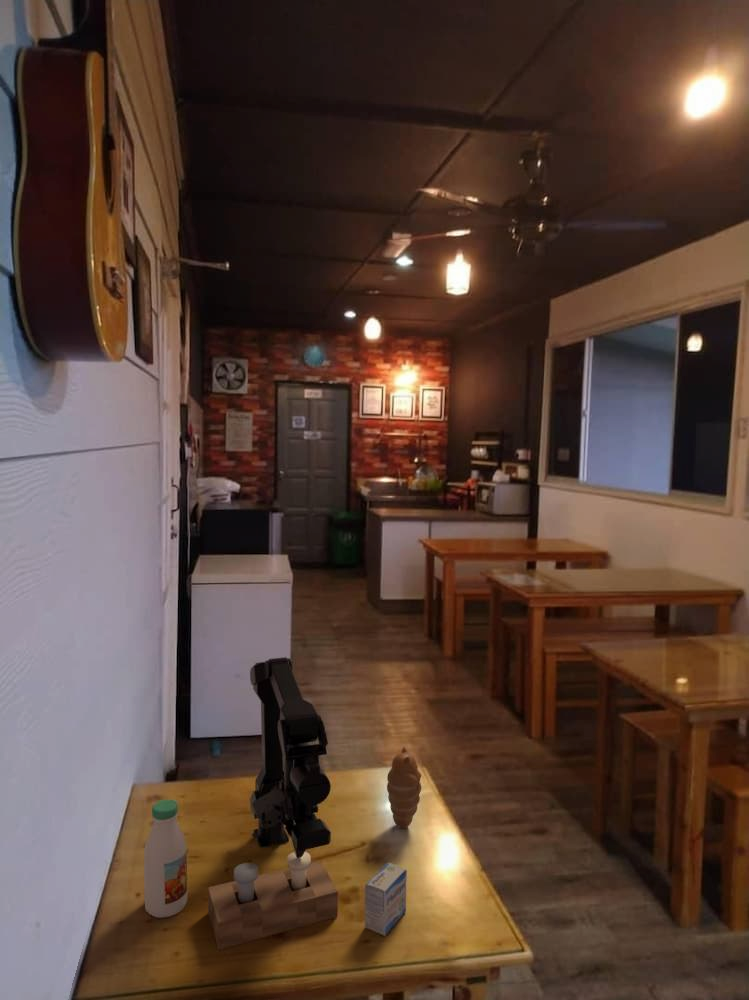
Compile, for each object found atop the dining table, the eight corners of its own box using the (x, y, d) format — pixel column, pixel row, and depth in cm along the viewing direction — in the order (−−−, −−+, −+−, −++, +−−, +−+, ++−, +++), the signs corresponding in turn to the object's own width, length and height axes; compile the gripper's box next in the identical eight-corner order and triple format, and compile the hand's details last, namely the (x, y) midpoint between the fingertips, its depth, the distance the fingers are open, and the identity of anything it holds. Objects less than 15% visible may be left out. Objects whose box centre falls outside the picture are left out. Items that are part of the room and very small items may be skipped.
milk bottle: (148, 924, 126) (146, 820, 124) (141, 898, 132) (139, 799, 130) (191, 911, 129) (190, 810, 127) (182, 887, 136) (181, 790, 134)
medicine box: (384, 937, 124) (385, 892, 123) (363, 927, 126) (364, 883, 125) (406, 912, 130) (407, 868, 129) (386, 903, 133) (387, 860, 132)
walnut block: (208, 912, 129) (208, 887, 128) (320, 883, 138) (320, 860, 137) (218, 949, 120) (218, 923, 119) (337, 916, 129) (337, 891, 128)
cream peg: (284, 881, 131) (284, 853, 131) (306, 875, 133) (306, 848, 133) (290, 895, 127) (291, 867, 127) (313, 889, 129) (313, 862, 129)
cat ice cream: (423, 836, 154) (425, 759, 152) (389, 839, 153) (390, 761, 151) (415, 814, 163) (417, 741, 161) (383, 816, 162) (384, 743, 160)
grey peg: (231, 894, 127) (231, 866, 127) (255, 888, 129) (255, 860, 129) (236, 909, 123) (236, 880, 123) (260, 903, 125) (260, 874, 125)
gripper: (245, 762, 133) (245, 838, 135) (269, 812, 116) (269, 898, 118) (300, 752, 138) (300, 826, 139) (332, 799, 121) (331, 882, 122)
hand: (298, 856), depth 130 cm, fingers closed
